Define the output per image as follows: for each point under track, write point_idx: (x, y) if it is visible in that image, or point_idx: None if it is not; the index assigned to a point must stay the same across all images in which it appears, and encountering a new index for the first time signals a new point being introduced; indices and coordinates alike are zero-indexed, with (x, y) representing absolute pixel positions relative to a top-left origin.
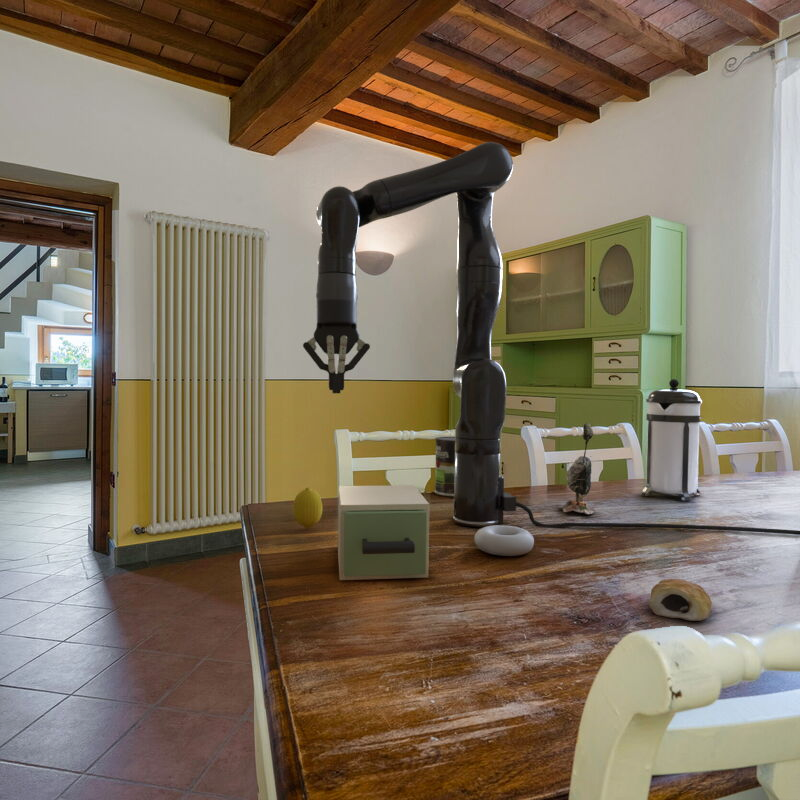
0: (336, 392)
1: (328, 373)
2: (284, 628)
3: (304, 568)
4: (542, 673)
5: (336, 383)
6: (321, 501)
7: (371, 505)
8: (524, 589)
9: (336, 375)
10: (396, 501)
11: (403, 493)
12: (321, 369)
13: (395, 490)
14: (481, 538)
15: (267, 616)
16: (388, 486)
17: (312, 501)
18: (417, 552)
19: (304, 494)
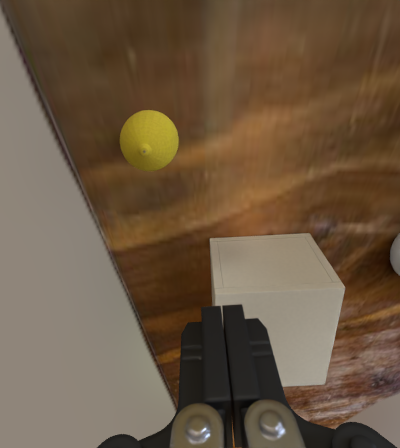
0: (223, 326)
1: (176, 415)
2: (177, 388)
3: (175, 294)
4: (317, 424)
5: (227, 358)
6: (175, 143)
7: None
8: (373, 341)
9: (232, 397)
10: (287, 376)
11: (309, 340)
12: (118, 445)
13: (302, 323)
14: (397, 267)
15: (162, 375)
16: (298, 298)
17: (160, 168)
18: None
19: (141, 166)
